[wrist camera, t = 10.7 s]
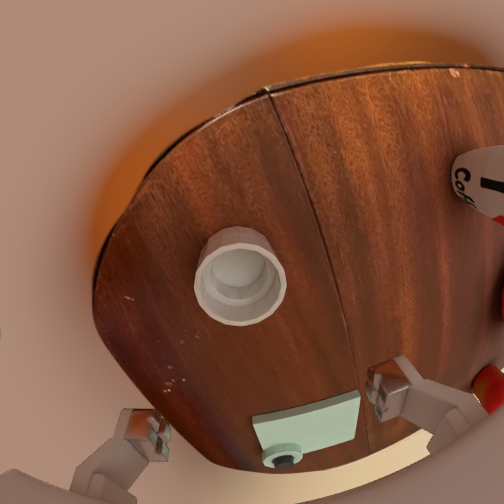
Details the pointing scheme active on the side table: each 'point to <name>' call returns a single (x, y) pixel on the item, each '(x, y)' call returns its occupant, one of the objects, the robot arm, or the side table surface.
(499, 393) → the apple
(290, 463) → the tare button
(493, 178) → the cup
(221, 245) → the bowl
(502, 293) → the vase
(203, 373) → the side table surface
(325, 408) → the scale
